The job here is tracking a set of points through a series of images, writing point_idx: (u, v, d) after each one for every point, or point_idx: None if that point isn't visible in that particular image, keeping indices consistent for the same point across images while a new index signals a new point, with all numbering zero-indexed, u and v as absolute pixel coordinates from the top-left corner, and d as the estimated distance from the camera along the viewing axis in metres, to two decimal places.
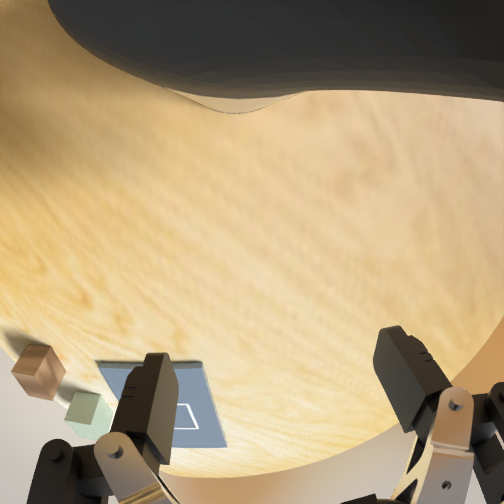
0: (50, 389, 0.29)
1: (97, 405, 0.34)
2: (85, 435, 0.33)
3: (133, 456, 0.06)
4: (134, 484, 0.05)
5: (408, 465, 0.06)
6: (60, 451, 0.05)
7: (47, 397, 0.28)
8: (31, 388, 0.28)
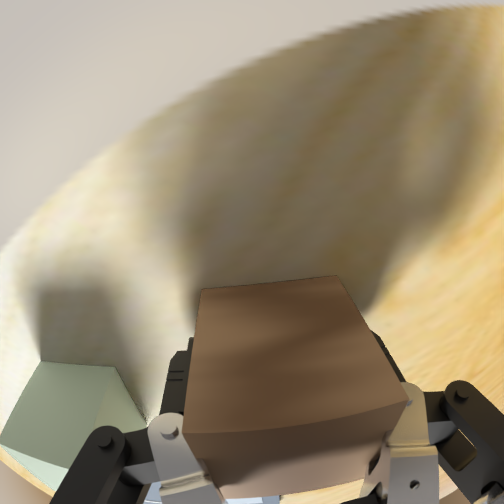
0: None
1: None
2: (34, 469, 0.07)
3: None
4: (182, 468, 0.05)
5: (368, 465, 0.07)
6: (110, 438, 0.06)
7: (236, 494, 0.07)
8: (281, 466, 0.06)
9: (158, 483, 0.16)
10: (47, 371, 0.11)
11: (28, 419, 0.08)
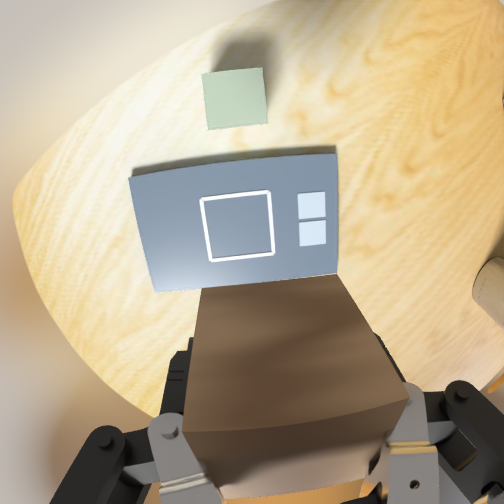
0: None
1: None
2: (216, 92, 0.21)
3: None
4: (182, 467, 0.05)
5: (368, 465, 0.07)
6: (110, 438, 0.06)
7: (236, 493, 0.07)
8: (282, 465, 0.06)
9: (252, 202, 0.31)
10: None
11: None
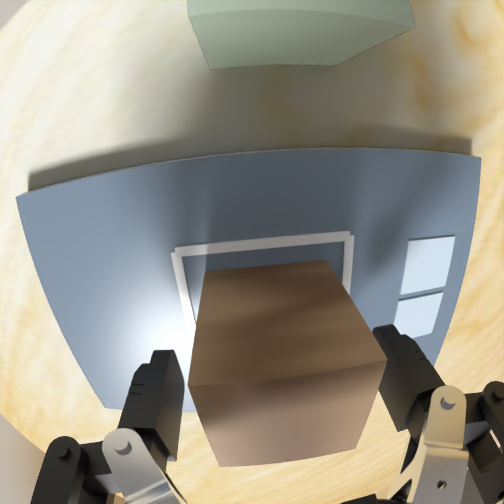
0: None
1: (355, 55, 0.08)
2: None
3: (142, 452, 0.06)
4: (141, 481, 0.05)
5: (402, 464, 0.06)
6: (68, 448, 0.05)
7: (235, 460, 0.08)
8: (275, 425, 0.07)
9: (307, 260, 0.12)
10: None
11: None
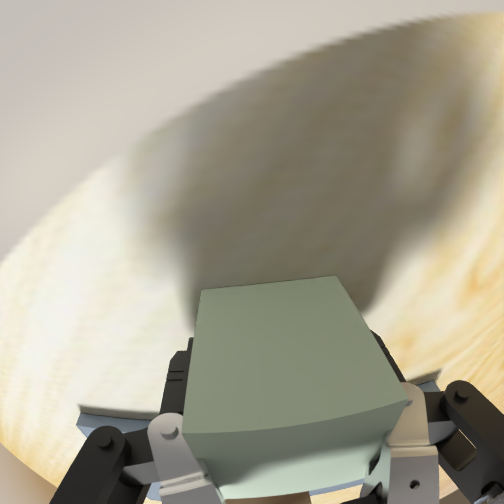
0: None
1: None
2: (242, 464, 0.06)
3: None
4: (182, 468, 0.05)
5: (368, 465, 0.07)
6: (110, 438, 0.06)
7: None
8: None
9: None
10: (225, 298, 0.10)
11: (241, 368, 0.07)
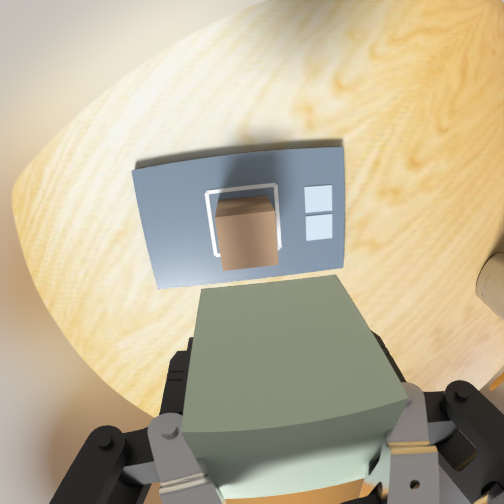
0: None
1: None
2: (242, 464, 0.06)
3: None
4: (182, 467, 0.05)
5: (368, 465, 0.07)
6: (110, 438, 0.06)
7: (228, 264, 0.26)
8: (242, 238, 0.25)
9: (258, 195, 0.30)
10: (225, 297, 0.10)
11: (241, 367, 0.07)
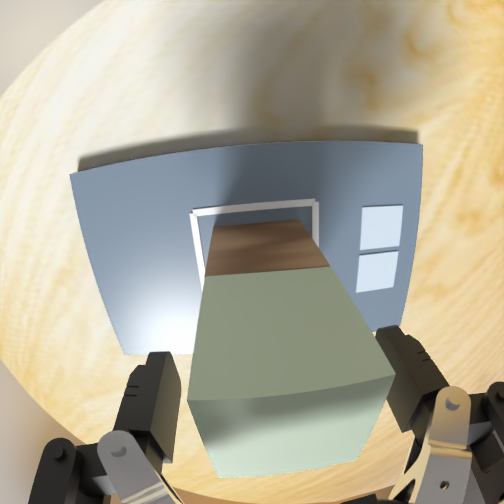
0: None
1: None
2: (241, 437, 0.07)
3: (137, 454, 0.06)
4: (137, 483, 0.05)
5: (406, 465, 0.06)
6: (63, 450, 0.05)
7: None
8: None
9: (285, 220, 0.17)
10: (227, 284, 0.11)
11: (243, 344, 0.08)
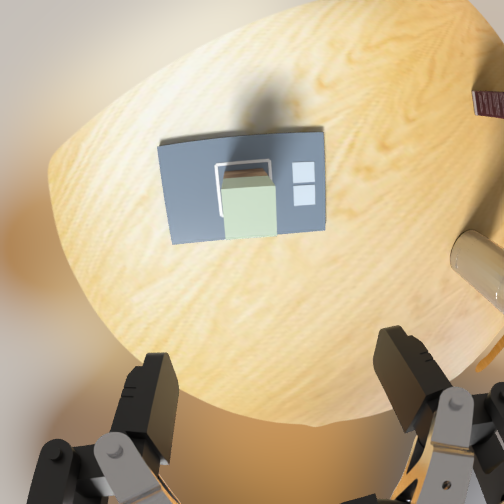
0: None
1: None
2: (234, 207, 0.27)
3: (133, 456, 0.06)
4: (134, 484, 0.05)
5: (408, 465, 0.06)
6: (60, 451, 0.05)
7: None
8: None
9: (256, 168, 0.38)
10: (231, 179, 0.32)
11: (235, 184, 0.28)
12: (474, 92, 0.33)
